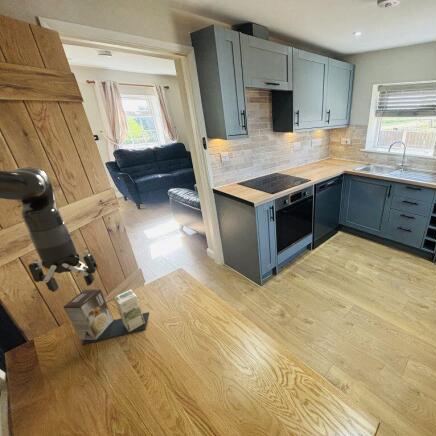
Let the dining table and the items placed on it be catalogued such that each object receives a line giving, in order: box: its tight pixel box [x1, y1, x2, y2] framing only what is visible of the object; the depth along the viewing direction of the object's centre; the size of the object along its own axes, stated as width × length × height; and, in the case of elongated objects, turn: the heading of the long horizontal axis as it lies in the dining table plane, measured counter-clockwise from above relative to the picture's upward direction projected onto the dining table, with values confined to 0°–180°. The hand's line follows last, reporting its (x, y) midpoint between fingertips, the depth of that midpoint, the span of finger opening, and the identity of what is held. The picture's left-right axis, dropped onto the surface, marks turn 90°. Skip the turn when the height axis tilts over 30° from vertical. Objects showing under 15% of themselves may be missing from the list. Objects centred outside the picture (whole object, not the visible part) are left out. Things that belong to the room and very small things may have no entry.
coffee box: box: [63, 288, 114, 340], centre depth 88 cm, size 9×6×16 cm
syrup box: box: [113, 289, 145, 332], centre depth 90 cm, size 6×6×14 cm
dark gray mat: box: [81, 311, 150, 346], centre depth 92 cm, size 20×9×1 cm, turn 111°
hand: (73, 286), depth 72 cm, fingers open, 8 cm apart
